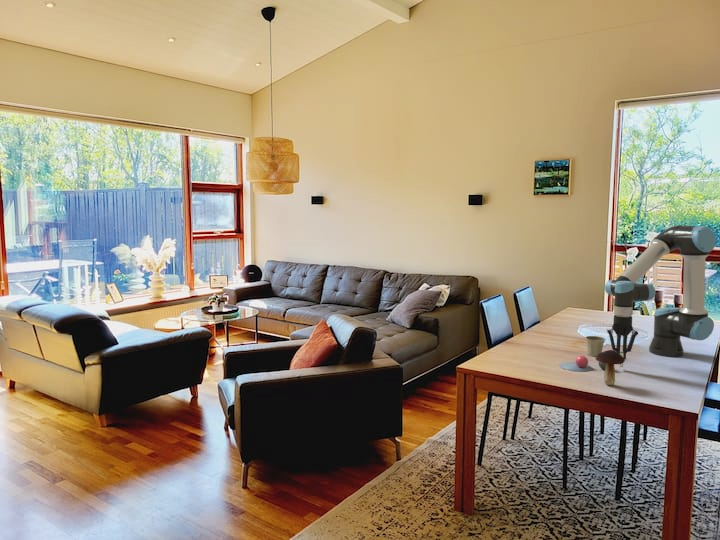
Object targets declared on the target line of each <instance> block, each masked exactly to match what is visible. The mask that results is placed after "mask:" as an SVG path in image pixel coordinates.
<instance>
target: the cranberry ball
mask: <svg viewBox="0 0 720 540" xmlns="http://www.w3.org/2000/svg"><path fill="white" fill-rule="evenodd" d="M574 362H576V365H577V366H578V367H581V368H584V367H586V366H587V365H589V359H588V358H587V357H586V356H585V355H579V356H577V357H576V359H575V360H574Z"/></svg>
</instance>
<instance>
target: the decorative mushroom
mask: <svg viewBox="0 0 720 540" xmlns="http://www.w3.org/2000/svg"><path fill="white" fill-rule="evenodd" d="M595 360H596V361H597V362H598V363H599V362H602V363H606V367H605V370H604V373H603V374H604V376H603V382H604V383H605V384H606V386H613V385H614V384H615V382H616V368H615V365H618V364H622V363H623V364H624V363H625V362H626V359H625V360H624V358H623V357H622V356H621V355H620V354H619V353H617V352H616V351H613V349H608V350H605V351H602V353H600V354H598V355H597V356H595Z"/></svg>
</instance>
